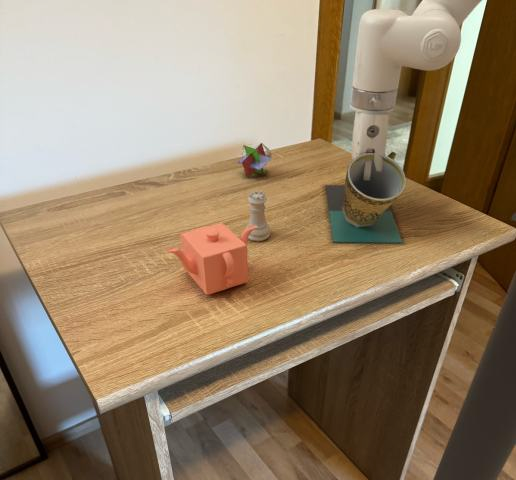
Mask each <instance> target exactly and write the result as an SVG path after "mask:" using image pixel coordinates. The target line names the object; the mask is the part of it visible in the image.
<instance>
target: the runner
mask: <svg viewBox="0 0 516 480" xmlns="http://www.w3.org/2000/svg"><path fill="white" fill-rule="evenodd" d="M325 191H326V199H327V207H328V213H329V220H330V228H331V235H332V240H333V243H337V244H339V243H342V244H344V243H345V244H349V243H350V244H352V243H353V244H403V240H402V237H401V235H400V233H399V229H398V226H397V223H396V220H395V217H394V215H393V212H392V209H391V205H390V206H389V207H388V208H387V209H386V210H385V211H384V212H383V213H382V214H381V216H380V217H379V218H378V219H377V220H376V221H375V223H374V224H373V225H371V226H365V227H356V226H354V225H352V224H351V223H349V222H347V221H346V218H345V215H344V212H343V209H342V206H343V199H344V191H345V184H344V185H339V184H338V185H337V184H336V185H334V184H333V185H329V184H328V185H325Z"/></svg>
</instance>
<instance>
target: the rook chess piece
mask: <svg viewBox="0 0 516 480" xmlns="http://www.w3.org/2000/svg"><path fill="white" fill-rule="evenodd" d="M265 195H266V194H265V192H263V191H262V190H260V191H259V193H258V190H254V191H251V192H250V193H249V196H248V198H247V201H248V203H249V204H250V206H249V210H250V215H249V221H248V222H247V225H246V228H247V227H250V226H254V225H255V226H257V227H256V228H255V229H254V230H253V231H252V232H251V233H250V235H249V237H248V240H250V241H251V242H264V241H266V240H267V239H268V238H269V237H270V235H271V232H270V230H271V229H270V225H269V224H268V222H267V220H266V215H265V210H266V205H265V203H266V202H267V197H266V196H265ZM246 228H245V229H246Z"/></svg>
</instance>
